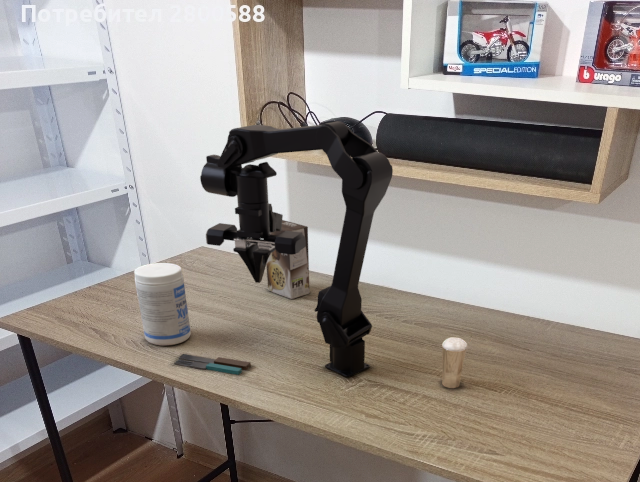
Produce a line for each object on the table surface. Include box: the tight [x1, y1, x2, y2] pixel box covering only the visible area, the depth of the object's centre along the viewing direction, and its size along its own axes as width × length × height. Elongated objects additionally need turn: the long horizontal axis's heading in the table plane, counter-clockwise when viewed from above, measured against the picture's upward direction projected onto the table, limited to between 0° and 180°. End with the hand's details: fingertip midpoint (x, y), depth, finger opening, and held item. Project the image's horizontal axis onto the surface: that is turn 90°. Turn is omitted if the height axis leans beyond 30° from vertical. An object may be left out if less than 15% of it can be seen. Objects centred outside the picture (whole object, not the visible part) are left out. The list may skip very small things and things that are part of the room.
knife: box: [178, 353, 252, 371], centre depth 135 cm, size 15×2×1 cm, turn 71°
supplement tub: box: [133, 262, 192, 346], centre depth 141 cm, size 10×10×15 cm
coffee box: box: [265, 219, 311, 300], centre depth 164 cm, size 9×6×16 cm
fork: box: [173, 358, 243, 376], centre depth 133 cm, size 14×2×1 cm, turn 71°
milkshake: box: [441, 336, 472, 389], centre depth 126 cm, size 4×5×10 cm
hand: (258, 282), depth 136 cm, fingers closed
